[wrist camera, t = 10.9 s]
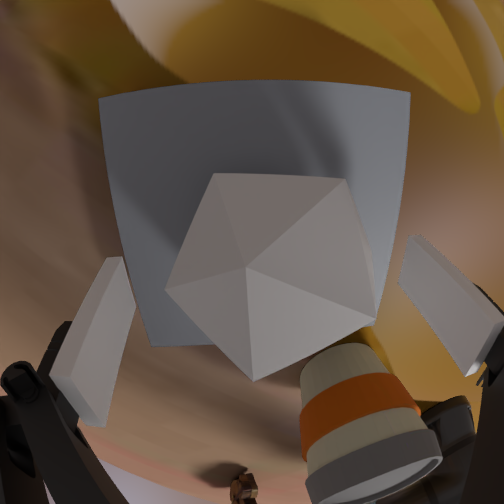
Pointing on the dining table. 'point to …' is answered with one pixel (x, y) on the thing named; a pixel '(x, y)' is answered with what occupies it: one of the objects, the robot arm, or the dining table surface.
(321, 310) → the die
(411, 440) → the reusable coffee cup
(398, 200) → the slate block
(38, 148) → the dining table surface
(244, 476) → the wooden carving
